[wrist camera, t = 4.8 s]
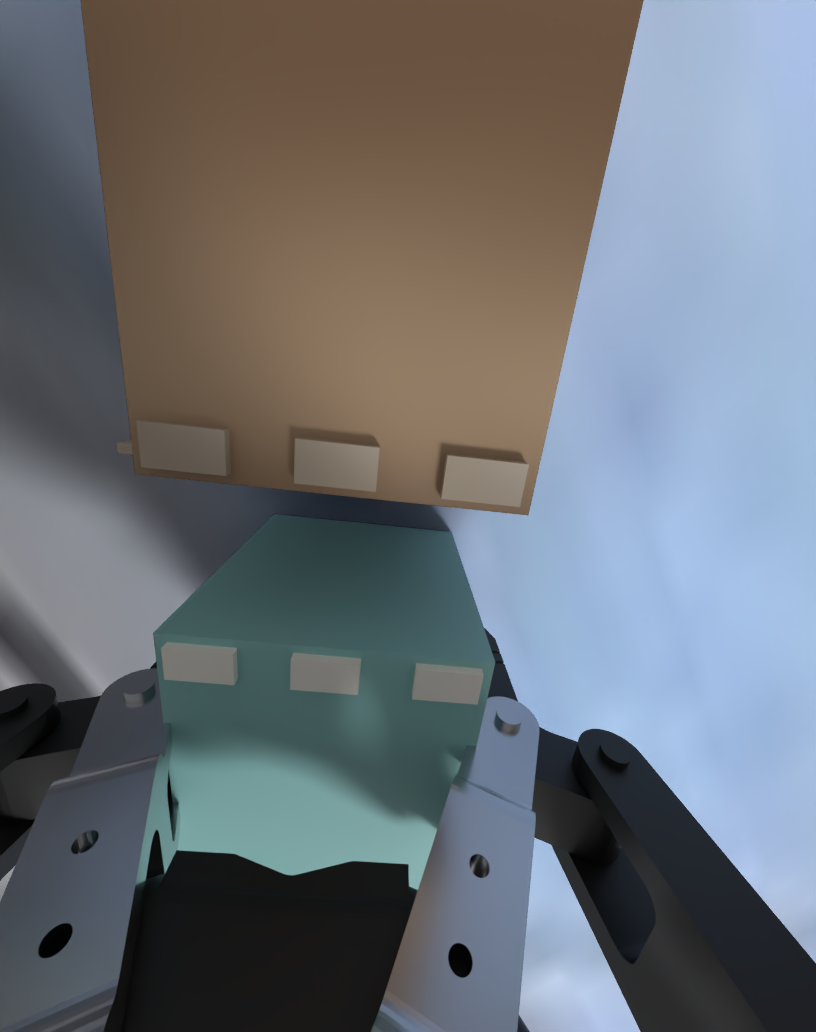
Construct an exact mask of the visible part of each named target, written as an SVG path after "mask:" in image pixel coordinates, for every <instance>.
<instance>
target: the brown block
mask: <svg viewBox="0 0 816 1032" xmlns="http://www.w3.org/2000/svg"><path fill="white" fill-rule="evenodd" d="M642 4H643V0H81V8H82V17H83V26H84V34H85V43H86V52H87V61H88V69H89V78H90V87H91V95H92V104H93V113H94V122H95V130H96V139H97V148H98V156H99V165H100V174H101V183H102V191H103V200H104V209H105V217H106V226H107V235H108V244H109V252H110V261H111V270H112V278H113V287H114V296H115V305H116V313H117V322H118V331H119V339H120V348H121V357H122V366H123V374H124V383H125V392H126V400H127V409H128V418H129V427H130V435H131V440H126V441H121V442H116V446H117V453H120V454H130V455H133V461H134V470H135V474H139V475H148V476H158V477H167V478H177V479H187V480H196V481H206V482H215V483H225V484H234V485H244V486H253V487H263V488H273V489H282V490H292V491H301V492H311V493H320V494H330V495H340V496H349V497H359V498H368V499H378V500H387V501H397V502H406V503H416V504H426V505H435V506H445V507H454V508H464V509H473V510H483V511H493V512H502V513H512V514H521V515H528V514H529V510H530V505H531V501H532V496H533V492H534V487H535V483H536V478H537V474H538V469H539V465H540V460H541V456H542V451H543V447H544V443H545V438H546V434H547V429H548V425H549V420H550V416H551V411H552V407H553V402H554V398H555V393H556V389H557V384H558V380H559V375H560V371H561V367H562V362H563V358H564V353H565V349H566V344H567V340H568V335H569V331H570V326H571V322H572V317H573V313H574V308H575V304H576V299H577V295H578V291H579V286H580V282H581V277H582V273H583V268H584V264H585V259H586V255H587V250H588V246H589V241H590V237H591V232H592V228H593V223H594V219H595V215H596V210H597V206H598V201H599V197H600V192H601V188H602V183H603V179H604V174H605V170H606V165H607V161H608V156H609V152H610V147H611V143H612V138H613V134H614V130H615V125H616V121H617V116H618V112H619V107H620V103H621V98H622V94H623V89H624V85H625V80H626V76H627V71H628V67H629V62H630V58H631V54H632V49H633V45H634V40H635V36H636V31H637V27H638V22H639V18H640V13H641V9H642Z"/></svg>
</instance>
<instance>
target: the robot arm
mask: <svg viewBox="0 0 816 1032" xmlns="http://www.w3.org/2000/svg"><path fill="white" fill-rule="evenodd" d="M484 630H485V633H486V636H487V639H488V642H489V645H490V648H491V651H492V654H493V657H494V660H495V666H494V671H493V675H492V680H491V684H490V689H489V693H488V697H487V702H486V706H485V711H484V715H483V720H482V724H481V729H480V733H479V738H478V742H477V746H471V745H466V749H465V752H464V755H463V758H462V761H461V765H460V768H459V771H458V774H457V775H455V777H454V779H453V782H452V785H451V788H450V791H449V794H448V798H447V801H446V804H445V807H444V810H443V813H442V816H441V819H440V823H439V826H438V829H437V832H436V835H435V838H434V841H433V844H432V848H431V851H430V854H429V857H428V860H427V863H426V866H425V869H424V873H423V876H422V879H421V882H420V885H419V888H418V890H417V889H414V888H412V887H410V886H409V864H396V863H379V862H363V861H350V862H346V863H342V864H338V865H334V866H330V867H326V868H322V869H318V870H314V871H310V872H305V873H301V874H297V875H286V874H283V873H280V872H278V871H275V870H273V869H271V868H268V867H266V866H263V865H261V864H258V863H256V862H254V861H251V860H249V859H246V858H244V857H241V856H239V855H236V854H230V853H214V852H197V851H180V850H178V842H179V832H180V822H181V817H180V807H179V803H176V802H173V801H172V793H171V784H170V775H169V764H170V757H171V750H172V733H171V724H170V723H163V714H162V705H161V697H160V688H159V679H158V671H157V662H155V663H154V664H153V666H152V667H151V668H150V669H144V670H139V671H136V672H133V673H130V674H128V675H125V676H123V677H121V678H120V679H118V680H116V681H115V682H113V683H112V684H111V685H109V686H108V687H107V688H106V689H105V691H104V692H103V693H102V695H101V696H98V697H92V698H85V699H79V700H72V701H66V702H59V703H58V701H57V696H56V692H55V690H54V688H52V687H51V686H49V685H46V684H25V685H20V686H16V687H12V688H9V689H5V690H3V691H0V880H1V879H2V878H3V877H4V876H5V875H6V874H7V873H8V872H9V871H10V870H11V869H12V868H13V867H14V866H15V865H16V866H15V868H14V870H13V873H12V875H11V877H10V880H9V882H8V885H7V887H6V889H5V892H4V894H3V896H2V899H1V901H0V1032H529V1030H528V1028H527V1027H526V1025H525V1024H524V1022H523V1020H522V1019H521V1017H520V1016H519V1005H520V994H521V982H522V971H523V960H524V948H525V937H526V926H527V914H528V903H529V892H530V880H531V869H532V858H533V846H534V837H535V838H537V839H539V840H542V841H544V842H546V843H549V844H551V845H552V847H553V849H554V851H555V854H556V856H557V858H558V860H559V862H560V864H561V866H562V868H563V870H564V872H565V874H566V877H567V879H568V881H569V883H570V885H571V887H572V889H573V891H574V893H575V895H576V897H577V900H578V902H579V904H580V906H581V908H582V910H583V912H584V914H585V916H586V918H587V920H588V922H589V925H590V927H591V929H592V931H593V933H594V935H595V937H596V939H597V941H598V943H599V945H600V948H601V950H602V952H603V954H604V956H605V958H606V960H607V962H608V964H609V966H610V968H611V971H612V973H613V975H614V977H615V979H616V981H617V983H618V985H619V987H620V989H621V991H622V994H623V996H624V998H625V1000H626V1002H627V1004H628V1006H629V1008H630V1010H631V1012H632V1014H633V1017H634V1019H635V1021H636V1023H637V1025H638V1027H639V1029H640V1031H641V1032H816V963H815V962H814V961H813V960H812V958H811V957H810V956H809V955H808V954H807V952H806V951H805V950H804V949H803V948H802V946H801V945H800V944H799V943H798V942H797V940H796V939H795V938H794V937H793V936H792V934H791V933H790V932H789V931H788V930H787V928H786V927H785V926H784V925H783V924H782V922H781V921H780V920H779V919H778V918H777V916H776V915H775V914H774V913H773V912H772V910H771V909H770V908H769V907H768V906H767V904H766V903H765V902H764V901H763V900H762V898H761V897H760V896H759V895H758V894H757V892H756V891H755V890H754V889H753V888H752V886H751V885H750V884H749V883H748V882H747V880H746V879H745V878H744V877H743V876H742V874H741V873H740V872H739V871H738V870H737V868H736V867H735V866H734V865H733V864H732V862H731V861H730V860H729V859H728V858H727V856H726V855H725V854H724V853H723V852H722V850H721V849H720V848H719V847H718V846H717V844H716V843H715V842H714V841H713V840H712V838H711V837H710V836H709V835H708V834H707V832H706V831H705V830H704V829H703V828H702V826H701V825H700V824H699V823H698V822H697V820H696V819H695V818H694V817H693V816H692V814H691V813H690V812H689V811H688V810H687V808H686V807H685V806H684V805H683V804H682V802H681V801H680V800H679V799H678V798H677V796H676V795H675V794H674V793H673V792H672V790H671V789H670V788H669V787H668V786H667V784H666V783H665V782H664V781H663V780H662V778H661V777H660V776H659V775H658V774H657V772H656V771H655V770H654V769H653V768H652V766H651V765H650V764H649V763H648V762H647V760H646V759H645V758H644V757H643V756H642V754H641V753H640V752H639V751H638V750H637V749H636V748H635V747H634V746H633V745H632V744H630V743H629V742H628V741H626V740H625V739H623V738H622V737H620V736H618V735H616V734H614V733H611V732H609V731H605V730H601V729H590V730H587V731H584V732H583V733H582V734H581V735H580V737H579V740H578V742H576V741H573V740H570V739H567V738H565V737H562V736H559V735H556V734H553V733H551V732H548V731H546V730H544V729H542V728H541V727H539V724H538V722H537V719H536V718H535V716H534V715H533V714H532V712H531V711H530V710H529V709H528V708H527V707H525V706H524V705H522V704H521V703H519V702H518V700H517V698H516V695H515V692H514V689H513V687H512V684H511V681H510V679H509V676H508V673H507V670H506V668H505V665H504V664H503V659H502V657H501V654H500V651H499V648H498V646H497V643H496V640H495V638H494V637H493V636H492V635H491V634H490V633H489V632H488V631H487V630H486V629H485V628H484Z"/></svg>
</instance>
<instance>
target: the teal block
mask: <svg viewBox="0 0 816 1032" xmlns="http://www.w3.org/2000/svg"><path fill="white" fill-rule="evenodd" d="M153 636H154V644H155V653H156V662H157V671H158V679H159V688H160V697H161V705H162V714H163V723H170V724H171V733H172V750H171V757H170V764H169V775H170V784H171V793H172V801H173V802H176V803H179V807H180V817H181V822H180V832H179V842H178V850H180V851H197V852H214V853H230V854H236V855H239V856H241V857H244V858H246V859H249V860H251V861H254V862H256V863H258V864H261V865H263V866H266V867H268V868H271V869H273V870H275V871H278V872H280V873H283V874H286V875H297V874H301V873H305V872H310V871H314V870H318V869H322V868H326V867H330V866H334V865H338V864H342V863H346V862H350V861H363V862H379V863H396V864H409V886H410V887H412V888H414V889H417V890H418V888H419V885H420V882H421V879H422V876H423V873H424V869H425V866H426V863H427V860H428V857H429V854H430V851H431V848H432V844H433V841H434V838H435V835H436V832H437V829H438V826H439V823H440V819H441V816H442V813H443V810H444V807H445V804H446V801H447V798H448V794H449V791H450V788H451V785H452V782H453V779H454V777H455V775H457V774H458V771H459V768H460V765H461V761H462V758H463V755H464V752H465V749H466V745H471V746H477V742H478V738H479V733H480V729H481V724H482V720H483V715H484V711H485V706H486V702H487V697H488V693H489V689H490V684H491V680H492V675H493V671H494V666H495V660H494V657H493V654H492V651H491V648H490V645H489V642H488V639H487V636H486V633H485V630H484V627H483V624H482V621H481V618H480V615H479V612H478V609H477V606H476V603H475V600H474V597H473V594H472V591H471V588H470V585H469V583H468V580H467V577H466V574H465V571H464V568H463V565H462V562H461V559H460V556H459V553H458V550H457V547H456V544H455V541H454V538H453V535H452V532H446V531H436V530H426V529H417V528H407V527H397V526H387V525H377V524H367V523H357V522H348V521H338V520H328V519H318V518H308V517H298V516H288V515H279V514H274V515H273V516H272V517H271V518H270V519H269V520H268V521H267V522H266V523H265V524H264V525H262V526H261V527H260V528H259V529H258V530H257V531H256V532H255V533H254V534H253V535H252V536H251V537H250V538H249V539H248V540H247V541H246V542H245V543H244V544H243V545H242V546H241V547H240V548H239V549H238V550H237V551H236V552H235V553H234V554H233V555H232V556H231V557H230V558H229V559H228V560H227V561H226V562H225V563H224V564H223V565H222V566H221V567H220V568H219V569H218V570H217V571H216V572H215V573H214V574H213V575H212V576H211V577H210V578H209V579H208V580H207V581H206V582H205V583H203V584H202V585H201V586H200V587H199V588H198V589H197V590H196V591H195V592H194V593H193V594H192V595H191V596H190V597H189V598H188V599H187V600H186V601H185V602H184V603H183V604H182V605H181V606H180V607H179V608H178V609H177V610H176V611H175V612H174V613H173V614H172V615H171V616H170V617H169V618H168V619H167V620H166V621H165V622H164V623H163V624H162V625H161V626H160V627H159V628H158V629H157V630H156V631H155V632H154V633H153Z"/></svg>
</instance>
